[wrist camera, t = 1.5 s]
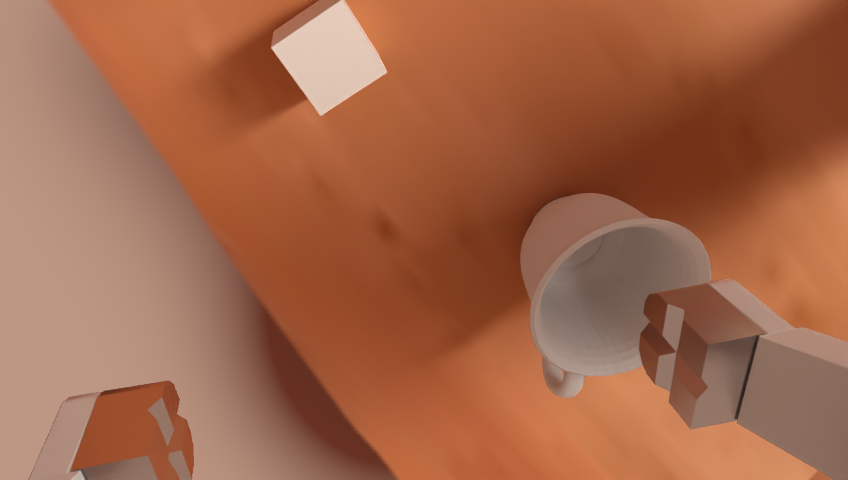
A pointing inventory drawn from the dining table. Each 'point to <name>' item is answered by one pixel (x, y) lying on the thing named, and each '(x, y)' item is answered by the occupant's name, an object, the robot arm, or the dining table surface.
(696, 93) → the dining table surface
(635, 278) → the teacup
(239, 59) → the dining table surface
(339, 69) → the cube
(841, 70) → the dining table surface
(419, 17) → the dining table surface
